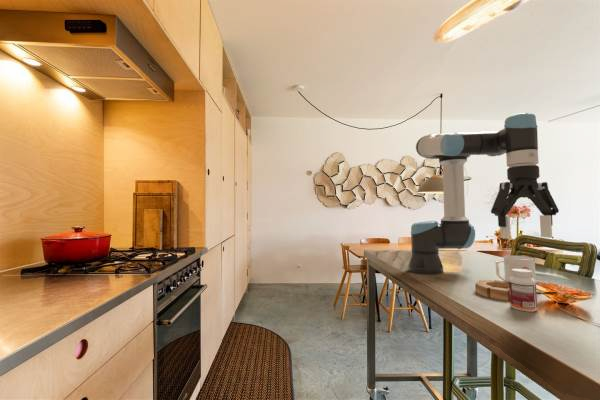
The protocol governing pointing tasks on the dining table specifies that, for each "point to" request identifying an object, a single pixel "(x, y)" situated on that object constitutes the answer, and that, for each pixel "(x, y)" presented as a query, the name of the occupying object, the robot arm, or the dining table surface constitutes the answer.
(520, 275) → the pill bottle
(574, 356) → the dining table surface
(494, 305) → the dining table surface
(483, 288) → the wooden ring
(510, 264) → the mug
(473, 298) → the dining table surface
